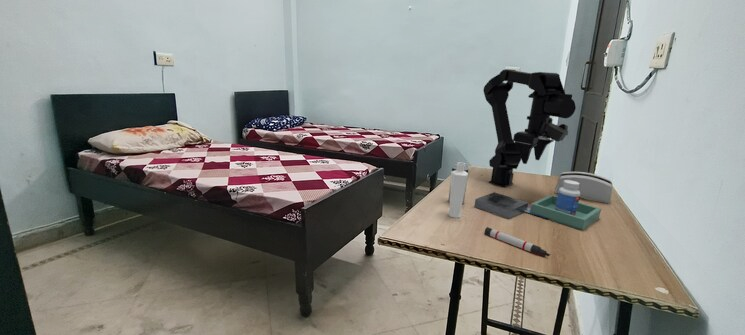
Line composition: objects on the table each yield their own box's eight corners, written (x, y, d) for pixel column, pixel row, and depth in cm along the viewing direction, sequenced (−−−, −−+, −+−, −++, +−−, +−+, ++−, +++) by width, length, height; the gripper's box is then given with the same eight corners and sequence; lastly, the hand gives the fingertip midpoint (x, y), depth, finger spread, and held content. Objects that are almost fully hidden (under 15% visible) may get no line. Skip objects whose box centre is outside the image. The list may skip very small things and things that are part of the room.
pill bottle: (574, 219, 97) (582, 186, 94) (553, 214, 99) (560, 182, 97) (575, 213, 101) (582, 181, 99) (555, 208, 104) (561, 178, 101)
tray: (529, 213, 101) (531, 203, 100) (549, 203, 110) (551, 194, 109) (582, 230, 91) (584, 220, 90) (598, 218, 100) (601, 208, 99)
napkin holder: (609, 199, 117) (617, 175, 112) (609, 207, 114) (617, 183, 109) (554, 189, 125) (559, 166, 120) (553, 196, 122) (558, 173, 116)
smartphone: (509, 198, 112) (558, 213, 101) (509, 200, 112) (558, 215, 102) (498, 203, 107) (548, 219, 96) (498, 205, 107) (548, 221, 96)
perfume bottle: (453, 219, 93) (460, 166, 89) (443, 213, 97) (449, 162, 93) (466, 217, 95) (474, 164, 91) (456, 211, 99) (462, 160, 95)
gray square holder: (474, 206, 103) (475, 199, 103) (493, 199, 111) (494, 192, 110) (509, 219, 96) (510, 210, 95) (526, 210, 103) (528, 202, 102)
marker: (483, 235, 86) (484, 228, 85) (487, 233, 87) (488, 226, 86) (547, 261, 75) (549, 252, 74) (551, 258, 76) (553, 250, 76)
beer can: (446, 203, 105) (451, 165, 102) (449, 198, 109) (453, 162, 106) (462, 206, 103) (467, 167, 100) (465, 201, 108) (469, 164, 105)
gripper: (554, 118, 96) (544, 172, 101) (578, 115, 109) (568, 163, 113) (516, 113, 104) (508, 163, 108) (542, 111, 116) (534, 156, 121)
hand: (531, 161), depth 112 cm, fingers open, 9 cm apart
